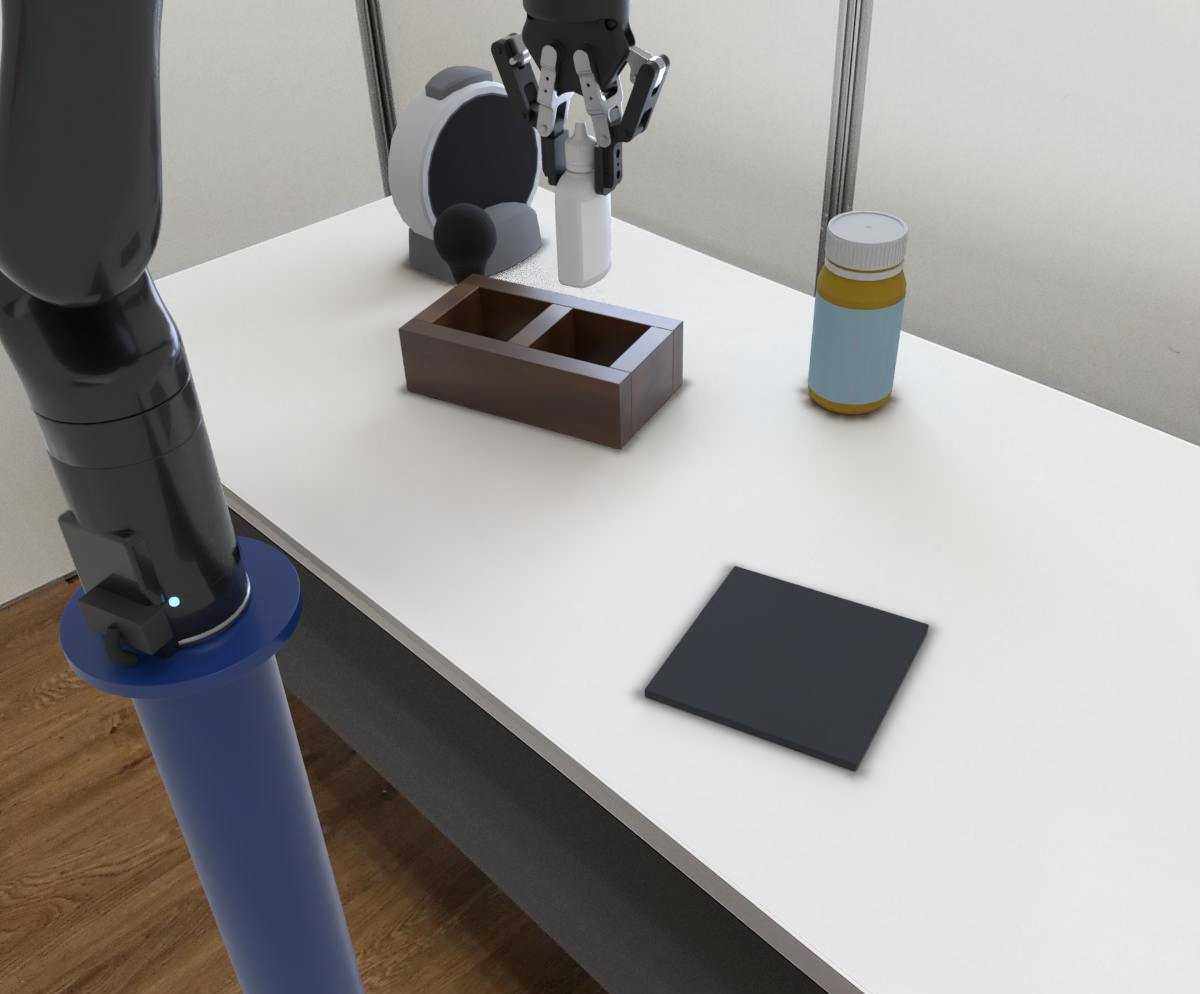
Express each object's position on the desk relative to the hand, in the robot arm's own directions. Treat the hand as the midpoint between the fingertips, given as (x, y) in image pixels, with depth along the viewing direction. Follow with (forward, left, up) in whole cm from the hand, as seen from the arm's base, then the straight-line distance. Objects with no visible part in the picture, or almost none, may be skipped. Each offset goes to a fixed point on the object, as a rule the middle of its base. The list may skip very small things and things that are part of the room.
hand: (582, 186), depth 95 cm
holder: (0, +5, -19) cm, 19 cm away
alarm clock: (+20, +25, -19) cm, 37 cm away
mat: (-23, -27, -19) cm, 40 cm away
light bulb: (+10, +19, -19) cm, 28 cm away
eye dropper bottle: (0, 0, -7) cm, 7 cm away
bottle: (+10, -19, -19) cm, 29 cm away
